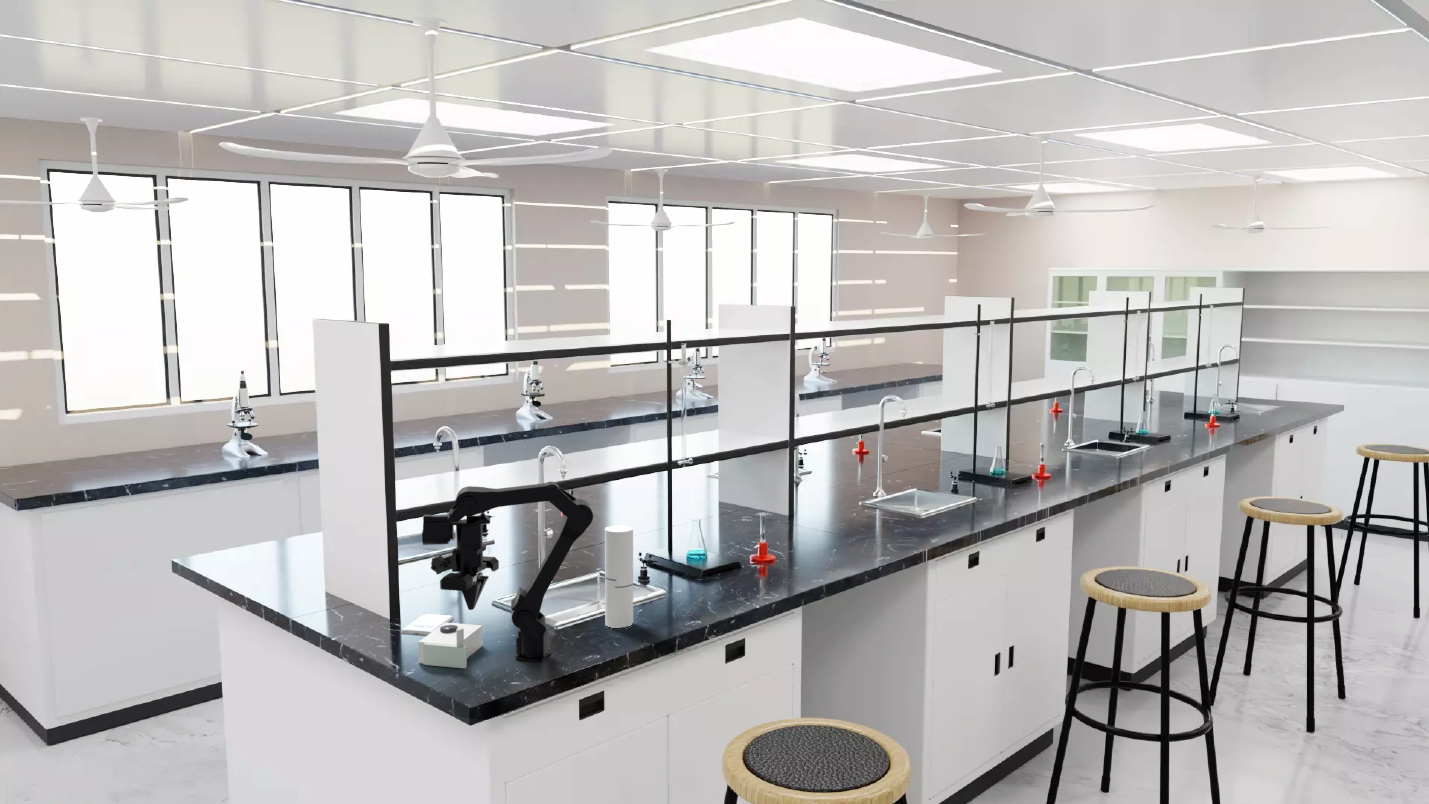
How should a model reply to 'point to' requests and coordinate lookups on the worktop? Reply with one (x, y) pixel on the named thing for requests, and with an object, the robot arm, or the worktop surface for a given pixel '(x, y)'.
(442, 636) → the instrument case
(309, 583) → the worktop surface
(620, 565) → the cylindrical container
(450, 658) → the side door
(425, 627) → the external hard drive
